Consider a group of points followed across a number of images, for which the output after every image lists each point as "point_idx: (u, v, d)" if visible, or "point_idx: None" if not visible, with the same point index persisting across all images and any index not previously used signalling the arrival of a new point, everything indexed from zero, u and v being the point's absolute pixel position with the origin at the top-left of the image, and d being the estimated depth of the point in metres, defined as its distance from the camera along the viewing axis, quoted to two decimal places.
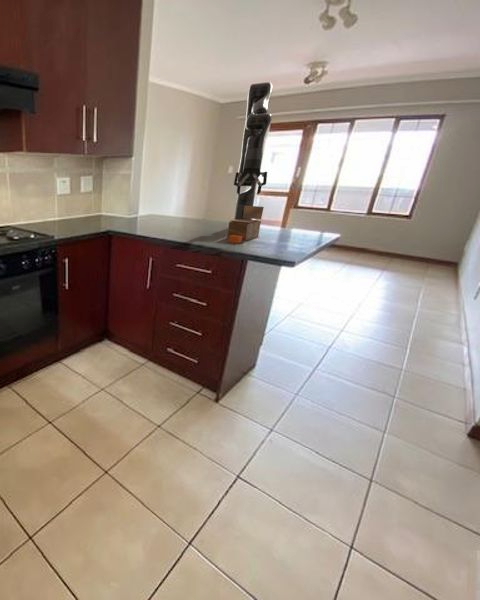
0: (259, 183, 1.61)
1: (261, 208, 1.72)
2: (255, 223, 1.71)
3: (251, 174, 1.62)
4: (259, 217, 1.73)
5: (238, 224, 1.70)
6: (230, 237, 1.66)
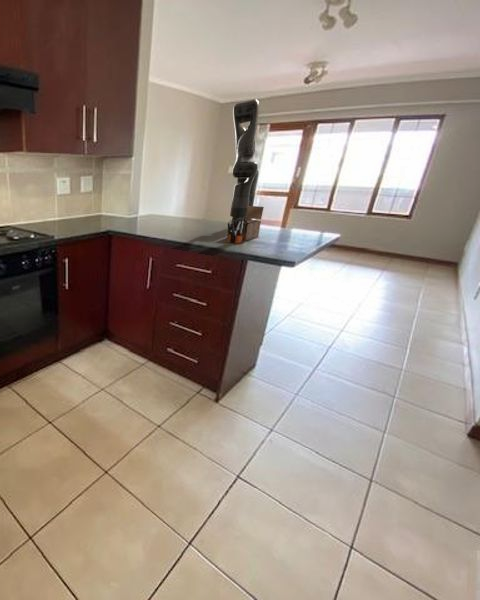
0: (240, 231, 1.65)
1: (261, 208, 1.72)
2: (255, 223, 1.71)
3: None
4: (259, 217, 1.73)
5: None
6: (230, 237, 1.66)
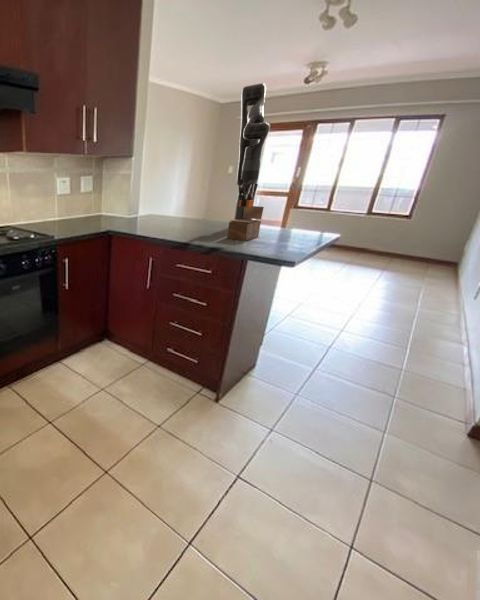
0: (251, 195, 1.65)
1: (261, 208, 1.72)
2: (255, 223, 1.71)
3: None
4: (259, 217, 1.73)
5: (238, 224, 1.70)
6: None
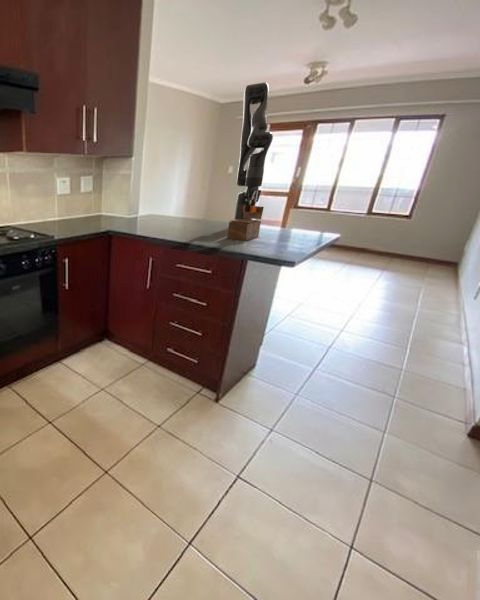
0: (255, 201, 1.72)
1: (261, 208, 1.72)
2: (255, 223, 1.71)
3: None
4: (259, 217, 1.73)
5: (238, 224, 1.70)
6: None
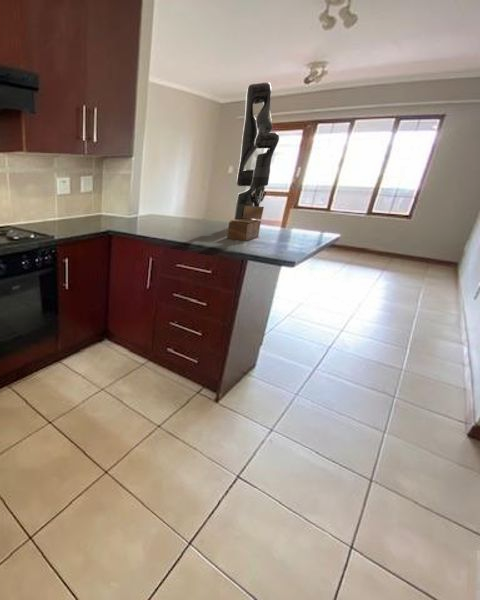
0: (259, 201, 1.74)
1: (261, 208, 1.72)
2: (255, 223, 1.71)
3: None
4: (259, 217, 1.73)
5: (238, 224, 1.70)
6: None
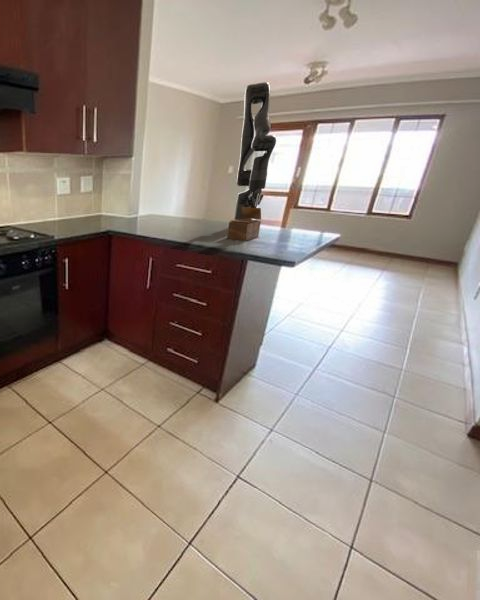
0: (256, 204, 1.73)
1: (258, 209, 1.71)
2: (255, 223, 1.71)
3: None
4: (259, 217, 1.73)
5: (238, 224, 1.70)
6: None
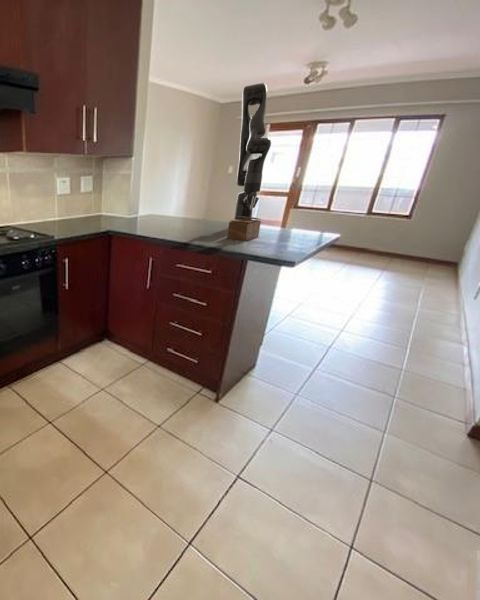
0: (251, 207, 1.71)
1: (254, 218, 1.70)
2: (255, 223, 1.71)
3: None
4: (258, 219, 1.73)
5: (238, 224, 1.70)
6: None
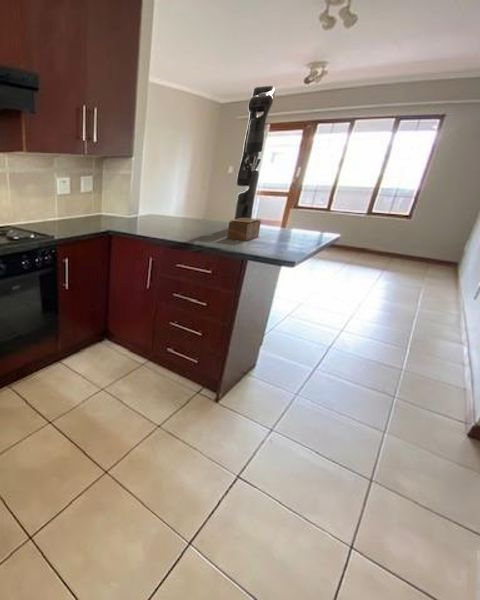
0: (253, 168, 1.69)
1: (254, 220, 1.71)
2: (255, 223, 1.71)
3: None
4: (258, 219, 1.73)
5: (238, 224, 1.70)
6: None
